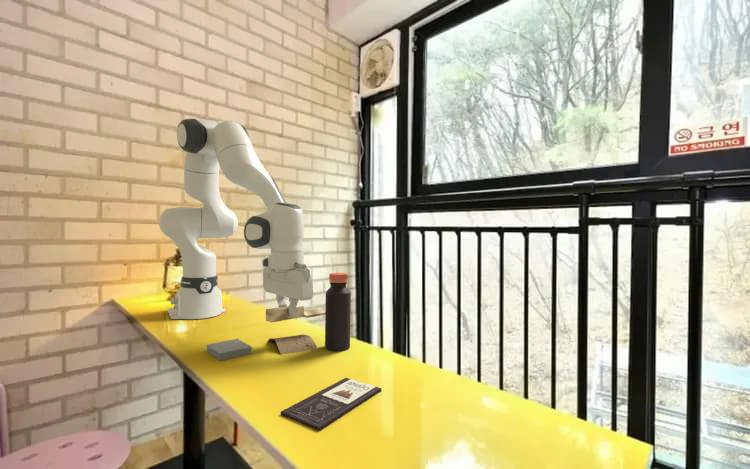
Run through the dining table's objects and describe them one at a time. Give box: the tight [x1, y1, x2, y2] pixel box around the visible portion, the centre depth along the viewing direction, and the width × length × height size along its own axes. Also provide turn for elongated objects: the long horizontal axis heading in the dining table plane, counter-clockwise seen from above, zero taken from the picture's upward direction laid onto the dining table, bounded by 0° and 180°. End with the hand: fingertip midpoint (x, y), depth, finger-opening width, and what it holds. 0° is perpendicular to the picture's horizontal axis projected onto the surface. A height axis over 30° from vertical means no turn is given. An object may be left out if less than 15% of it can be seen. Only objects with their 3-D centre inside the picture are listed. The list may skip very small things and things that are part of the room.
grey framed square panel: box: [206, 338, 253, 361], centre depth 94 cm, size 2×8×9 cm
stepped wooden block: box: [265, 304, 325, 323], centre depth 103 cm, size 17×6×3 cm, turn 134°
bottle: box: [324, 272, 352, 352], centre depth 99 cm, size 7×7×20 cm
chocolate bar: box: [280, 377, 382, 432], centre depth 68 cm, size 9×1×18 cm
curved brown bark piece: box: [267, 334, 318, 356], centre depth 101 cm, size 14×10×3 cm
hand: (286, 312), depth 101 cm, fingers closed on stepped wooden block, 3 cm apart
